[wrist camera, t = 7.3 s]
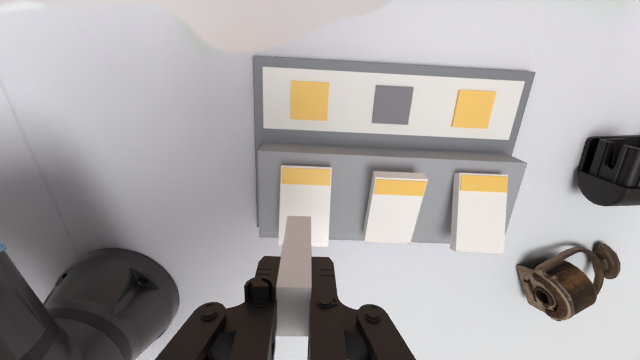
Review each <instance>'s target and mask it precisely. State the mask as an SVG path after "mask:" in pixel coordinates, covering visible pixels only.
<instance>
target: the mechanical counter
mask: <svg viewBox="0 0 640 360" xmlns="http://www.w3.org/2000/svg"><path fill="white" fill-rule="evenodd" d="M578 252H584V253H586V254H587V255H588V256H589V257H590V258H591V260H592V264H593V268H594V272H595V278H594V282H593V284H592V282H591V281H590V279H589V278H588V277H587V276H586V275H585V274H584V273H583V272H582V271H581V270H580V269H579V268H577V267H576V266H574V265H573V264H571V263H569V262H567V261H564V259H566V258H568V257H569V256H571V255H573V254H575V253H578ZM517 269H518V273H519V276H520V279H521V282H522V286H523V289H524V292H525V295H526V298H527V300H528V303H529V304H530V305H532V306H534V307H535V308H537V309H539V310H541V311H543V312H545V313H546V314H547V315H548V316H550V317H551V318H552V319H554V320H556V321H561V320H567V319H569V318H571V317H572V316H574V315H575V314H577V313H579V312H580V311H582V310H584V309H585V308H587V307H589V306H591V305H592V304H594V303H595V301H596V298H597V295H598V293H599V292H600V290H601V288H602V284H603V280H604V277H605V278H606V279H614V278H616V277H617V276H618V274H619V272H620V261H619V259H618V256H617V254H616V253H615V252H614V251H613V250H612V249H611V248H610V247H609V246H607V245H606V244H602V243H601V244H599V245H597V246H595V248H594V252H592V251H590V250H587V249H584V248H579V247H574V248H571V249H567V250H565V251H563V252H561V253H560V254H558V255H557V256H554V257H552V258H550V259H548V260H546V261H545V262H543V263H541V264H539V265H537V266H536V267H535V269H529V268H527V267H524V266H521V265H517Z"/></svg>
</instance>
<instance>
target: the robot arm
mask: <svg viewBox="0 0 640 360" xmlns="http://www.w3.org/2000/svg"><path fill="white" fill-rule="evenodd" d="M6 248H7V247H6V246H5V244H4V243H2V242H0V360H135V359H136V358H137V357H138V356H139V355H140V354H141V353H142V352H143V351H144V350H145V349H147V348H148V347H149V346H150V345H151V344H152V343H153V342H154V341H155V340H156V339H158V338H159V337H160V336H161V335H162V334H163V333H164V332H165V331H166V330H167V328H168V327H169V325H170V324H171V322H172V320H173V318H174V317H175V315H176V313H177V310H178V306H179V295H178V291H177V288H176V286H175V283H174V282H173V280H172V278H171V277H170V276H169V274H168V273H167V272H166V271H165V270H164V269H163V268H162V267H161V266H160V265H158V264H157V263H156V262H154V261H153V260H151V259H149V258H147V257H145V256H143V255H141V254H138V253H135V252H132V251H128V250H123V249H101V250H96V251H93V252H90V253H88V254H86V255H84V256H82V257H81V258H79V259H78V260H77V261H76V262H74V263H73V264H72V265H71V266H69V267H68V268H67V269H66V270H65V271H64V272H63V273H62V275H61V276H60V277H59V279H58V281H57V282H56V285H55V287H54V288H53V289H52V291H51V292H50V294H49V295H48V297H47V299H46V300H45V302H44V303H43V304H42V302H41V301H40V300H39V298H38V297H37V296H36V294H35V293H34V291H33V290H32V289H31V287H30V286H29V285H28V283H27V282H26V281H25V279H24V278H23V276H22V275H21V274H20V272H19V271H18V269H17V268H16V266H15V265H14V264H13V262H12V261H11V259H10V258H9V256H8V255H7V253H6V252H5V251H4V250H5V249H6ZM244 291H245V302H244V303H242V304H240V305H238V306H235V307H232V308H227V309H225V307H224V306H223V304H220V303H218V302H210V303H205V304H203V305H201V306H199V307H198V308H197V309H196V310H195V311H194V312H193V313H192V315H191V316H190V317H189V318H188V320H187V321H186V322H185V323H184V324H183V326H182V327H181V328H180V329H179V331H178V332H177V333H176V334H175V336H174V337H173V338H172V339H171V341H170V342H169V343H168V344H167V345H166V347H165V348H164V349H163V350H162V352H161V353H160V354H159V355H158V357H157V358H156V359H155V360H274V354H275V337H276V336H309V340H308V359H307V360H347V359H348V360H416V359H415V357H414V356H413V354H412V353H411V351H410V349H409V348H408V346H407V345H406V343H405V341H404V340H403V338H402V337H401V335H400V333H399V332H398V330H397V329H396V327H395V325H394V324H393V322H392V321H391V319H390V317H389V316H388V314H387V313H386V312H385V311H384V309H382V308H381V307H379V306H376V305H373V304H366V305H363V306H361V307H360V308H359V309H358V310H355V309H352V308H349V307H347V306H345V305H343V304H342V303H341V302H340V301H339V299H338V296H337V289H336V281H335V272H334V264H333V262H332V261H331V259H330V258H329V257H311V217H309V216H287V222H286V228H285V234H284V241H283V247H282V253H281V257H275V256H264V257H263V258H262V259H261V260H260V261H259V263H258V267H257V271H256V275H255V278H252V279H250V280H249V281H247V282H246V284H245V286H244Z"/></svg>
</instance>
